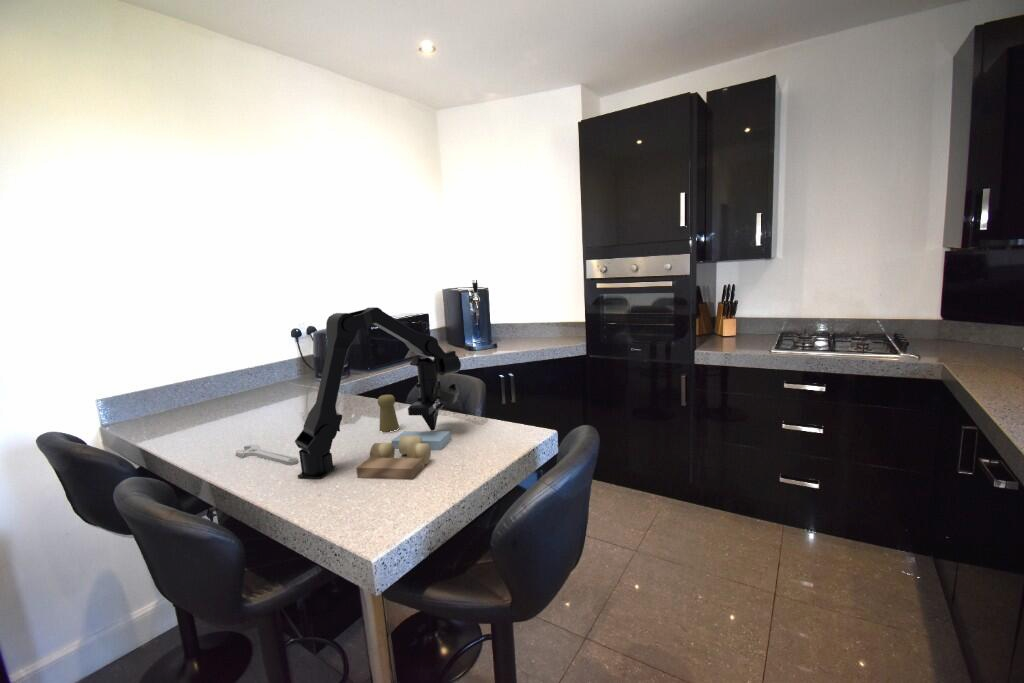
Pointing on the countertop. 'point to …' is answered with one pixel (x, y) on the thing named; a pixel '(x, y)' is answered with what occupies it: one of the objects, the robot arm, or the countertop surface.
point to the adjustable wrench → (266, 455)
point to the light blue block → (421, 439)
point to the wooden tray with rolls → (394, 462)
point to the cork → (387, 413)
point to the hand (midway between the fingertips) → (433, 430)
